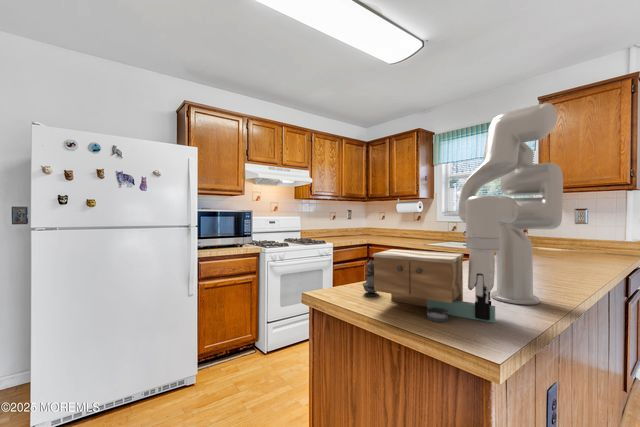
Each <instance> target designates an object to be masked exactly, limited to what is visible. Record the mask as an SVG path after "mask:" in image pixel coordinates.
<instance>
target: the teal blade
mask: <svg viewBox="0 0 640 427" xmlns="http://www.w3.org/2000/svg"><path fill="white" fill-rule="evenodd" d="M428 308H442V309H445V310H447V311H448V316H452V317H458V318H464V319H471V320H476V321H480V322H481V321H482V322H487V323H492V324H493V323H496V305H492V304H491V305H490V320H483V319H478V318H475V302H471V301H470V302H469V301H465V300H463V301H457V300H454V301H453V302H452V303H448V302H442V301H435V300H429V299H427V309H428ZM427 309H426V310H427Z"/></svg>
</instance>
